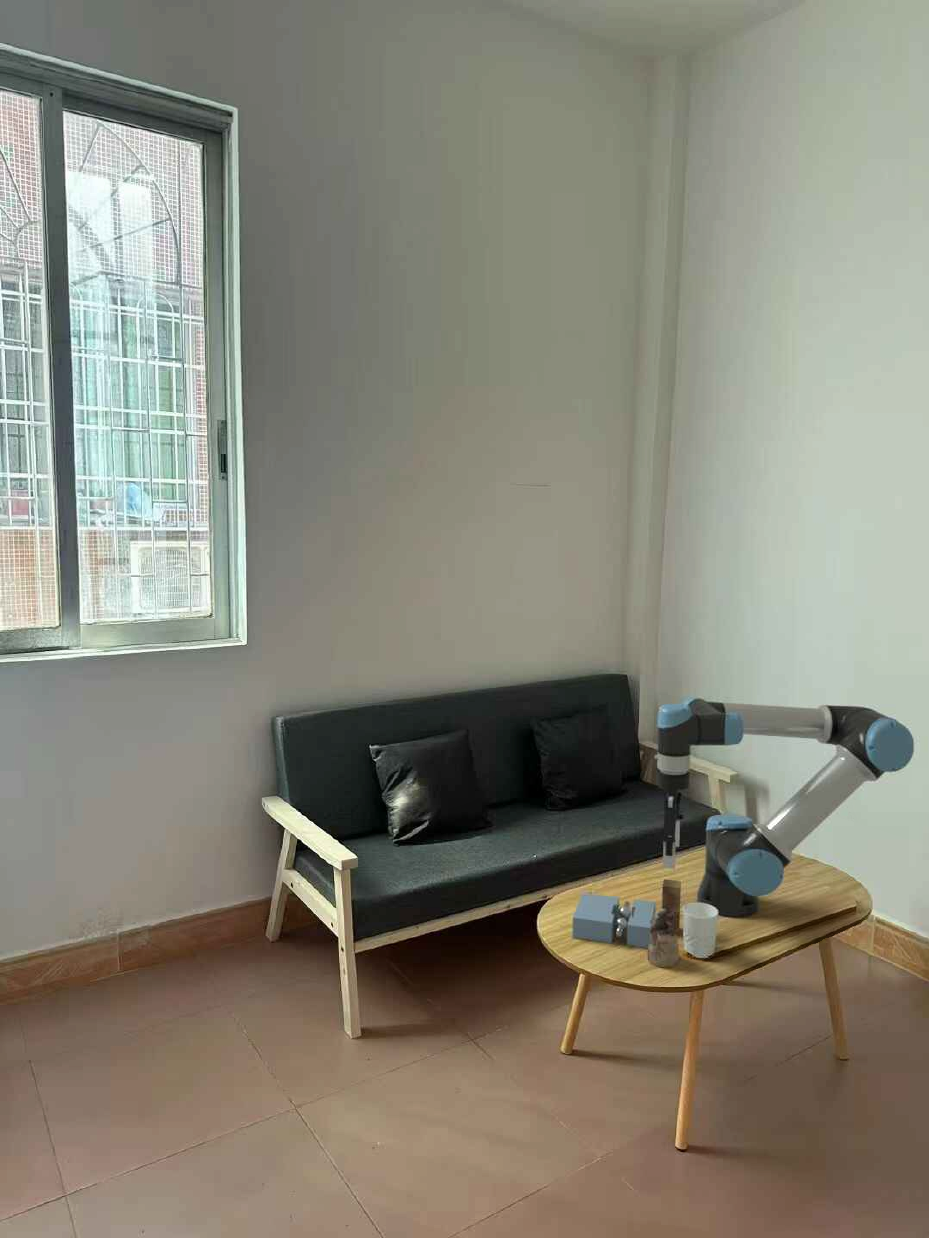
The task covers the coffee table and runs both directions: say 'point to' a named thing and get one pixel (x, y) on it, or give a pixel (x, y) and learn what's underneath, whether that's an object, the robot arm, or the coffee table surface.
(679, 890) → the peg
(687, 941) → the white cup
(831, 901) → the coffee table surface
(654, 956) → the figurine
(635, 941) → the socket board
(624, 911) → the plunger
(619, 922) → the plunger
